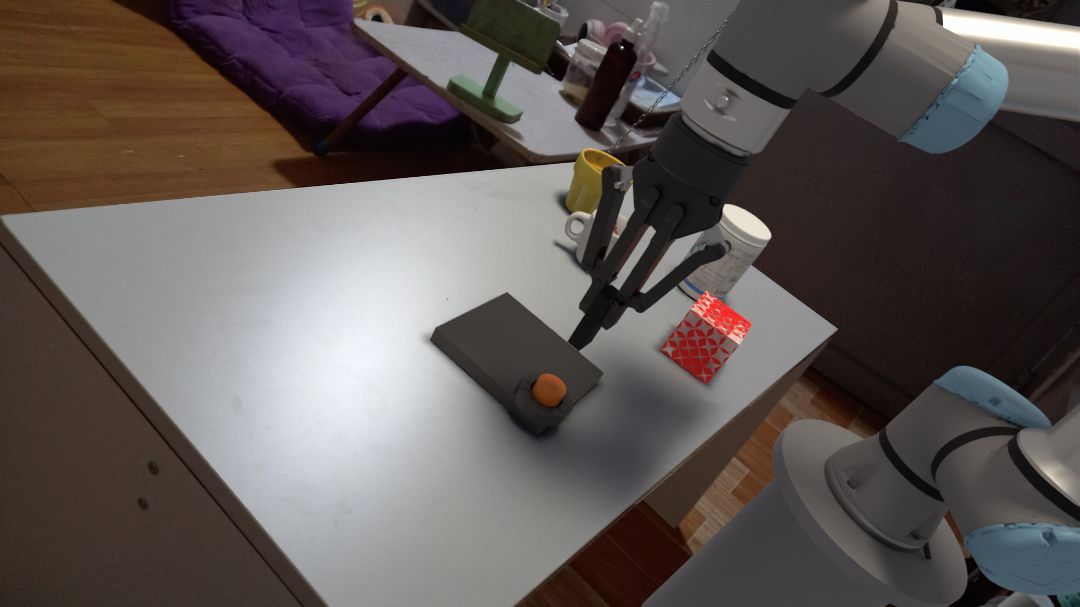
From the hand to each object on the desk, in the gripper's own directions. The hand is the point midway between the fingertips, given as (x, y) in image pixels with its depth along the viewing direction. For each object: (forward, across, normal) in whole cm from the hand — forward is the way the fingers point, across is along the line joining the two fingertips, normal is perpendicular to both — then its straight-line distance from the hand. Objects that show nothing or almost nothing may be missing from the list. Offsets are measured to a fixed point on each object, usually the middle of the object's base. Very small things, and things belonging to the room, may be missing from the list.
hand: (579, 341), depth 63 cm
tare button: (+8, 0, 0) cm, 8 cm away
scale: (+11, -6, +5) cm, 14 cm away
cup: (+11, -14, +35) cm, 39 cm away
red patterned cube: (+11, +8, +32) cm, 35 cm away
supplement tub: (+11, +1, +52) cm, 53 cm away
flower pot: (+11, -23, +49) cm, 55 cm away
